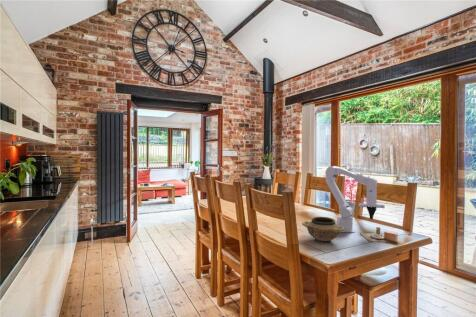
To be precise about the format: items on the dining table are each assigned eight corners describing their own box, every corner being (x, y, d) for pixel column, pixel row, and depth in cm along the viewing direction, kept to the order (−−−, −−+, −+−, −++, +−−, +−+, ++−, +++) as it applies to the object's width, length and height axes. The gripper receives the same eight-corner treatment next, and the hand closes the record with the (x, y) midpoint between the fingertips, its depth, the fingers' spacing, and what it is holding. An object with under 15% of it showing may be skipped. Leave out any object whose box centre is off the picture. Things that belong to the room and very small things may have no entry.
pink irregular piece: (367, 236, 168) (367, 229, 168) (373, 233, 174) (373, 226, 174) (393, 243, 157) (393, 235, 157) (399, 239, 163) (399, 232, 162)
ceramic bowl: (298, 244, 163) (296, 221, 159) (309, 230, 176) (307, 208, 173) (340, 254, 148) (339, 229, 145) (349, 238, 162) (348, 214, 158)
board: (369, 241, 161) (369, 230, 160) (359, 233, 176) (360, 223, 175) (397, 242, 160) (398, 231, 159) (385, 234, 175) (386, 224, 174)
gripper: (359, 197, 171) (359, 219, 171) (385, 199, 166) (385, 221, 166) (358, 196, 178) (358, 216, 178) (383, 197, 173) (383, 218, 173)
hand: (371, 218), depth 173 cm, fingers closed
